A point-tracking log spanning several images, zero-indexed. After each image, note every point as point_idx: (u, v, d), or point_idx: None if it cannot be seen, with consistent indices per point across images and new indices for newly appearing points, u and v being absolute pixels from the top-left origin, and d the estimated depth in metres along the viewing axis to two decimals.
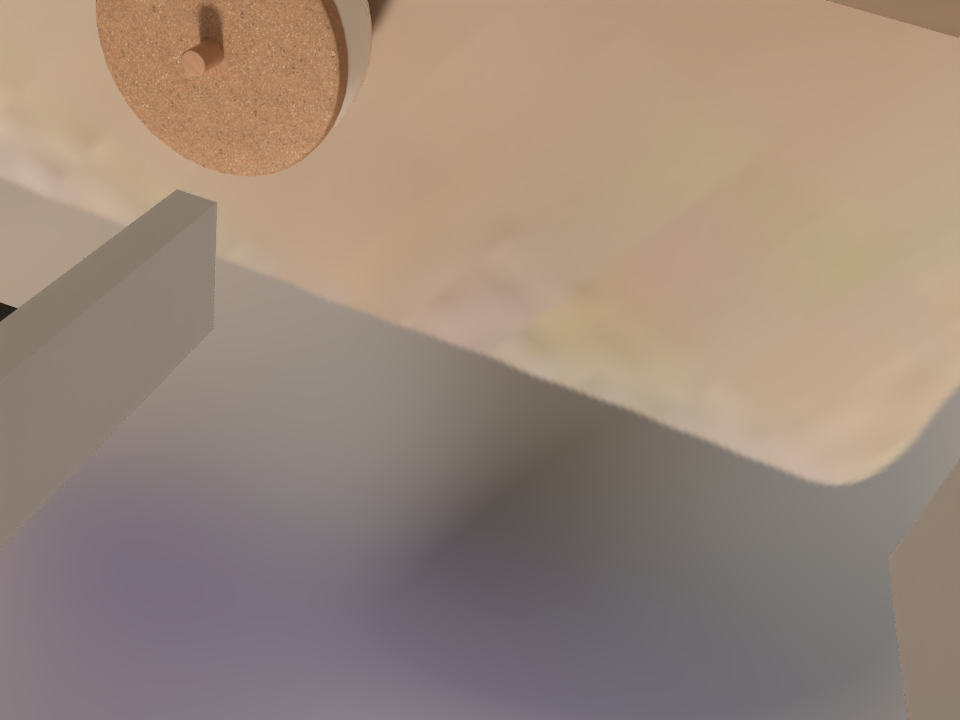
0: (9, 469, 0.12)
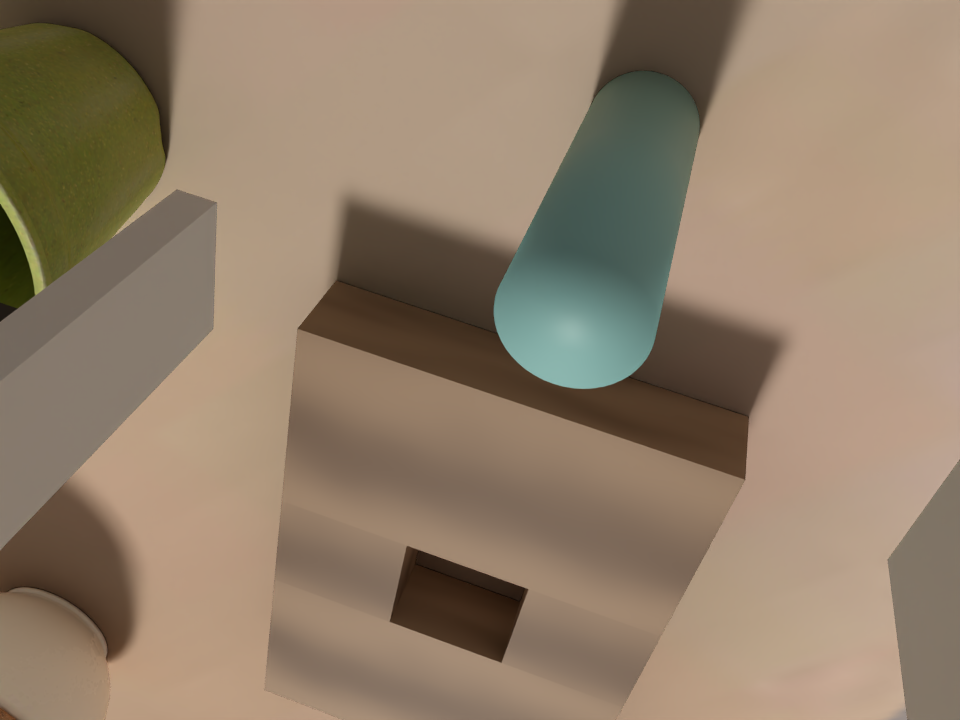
0: (9, 469, 0.12)
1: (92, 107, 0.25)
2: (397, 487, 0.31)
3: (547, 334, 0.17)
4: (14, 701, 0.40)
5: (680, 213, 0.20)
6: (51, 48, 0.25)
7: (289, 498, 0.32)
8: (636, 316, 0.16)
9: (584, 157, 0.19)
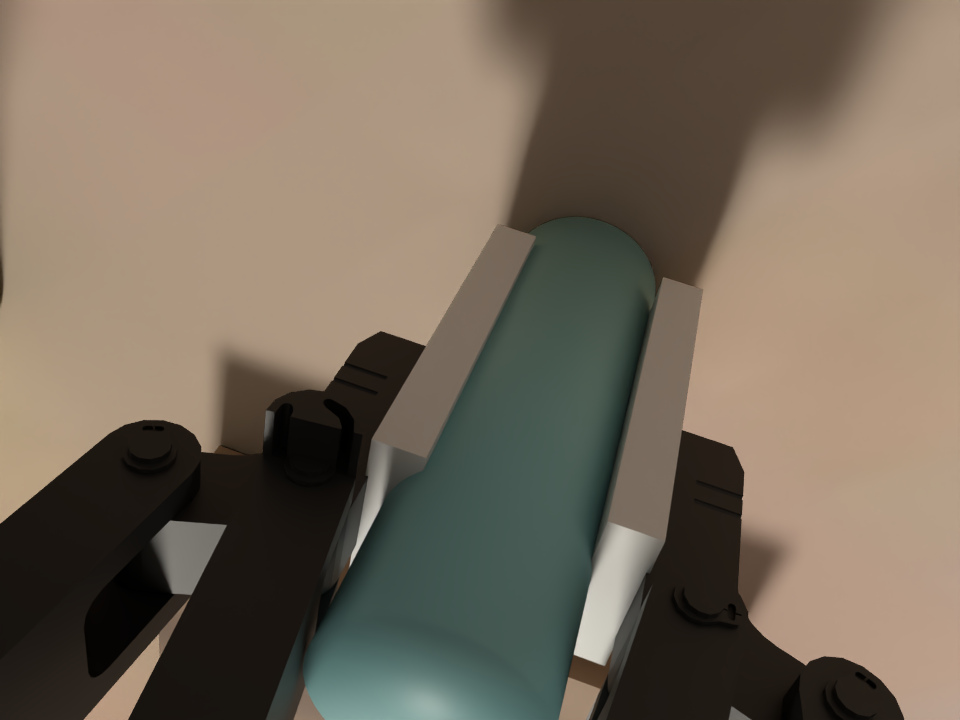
0: None
1: None
2: None
3: (389, 717, 0.11)
4: None
5: (614, 460, 0.14)
6: None
7: None
8: (520, 711, 0.10)
9: (468, 389, 0.13)
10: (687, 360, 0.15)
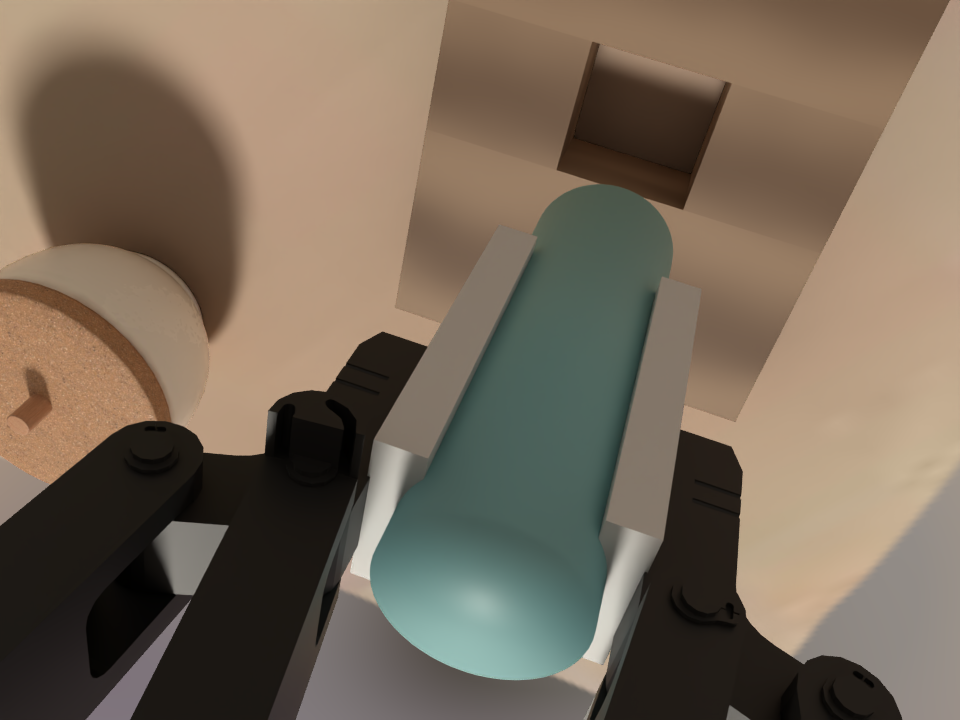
0: None
1: None
2: None
3: (446, 614, 0.12)
4: (120, 320, 0.37)
5: None
6: None
7: None
8: (566, 601, 0.11)
9: (508, 331, 0.15)
10: (686, 359, 0.15)
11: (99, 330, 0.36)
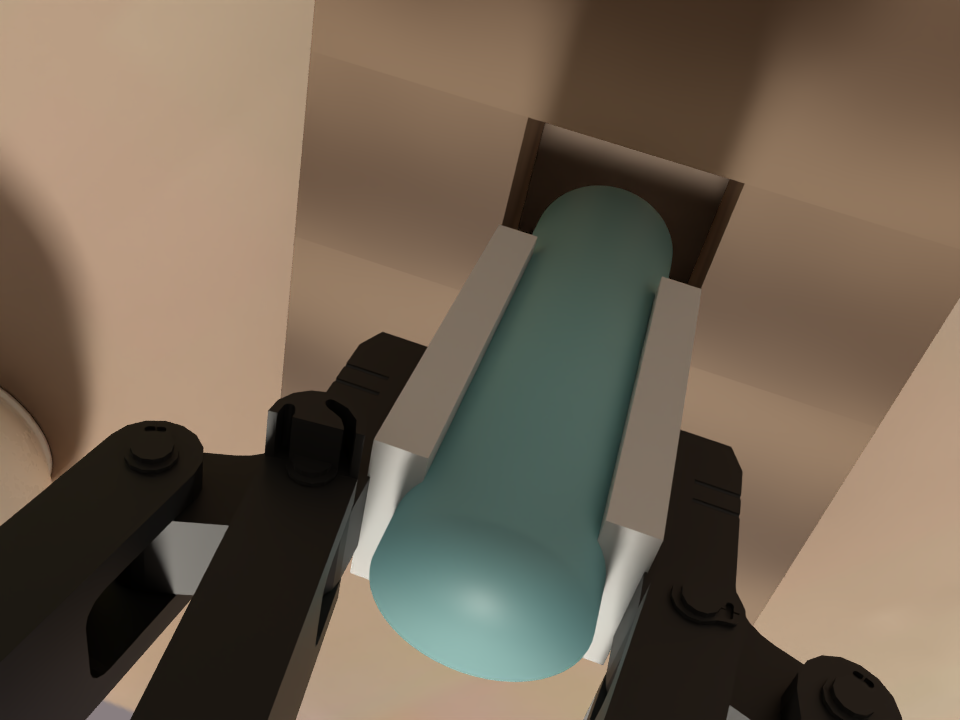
0: None
1: None
2: None
3: (446, 616, 0.12)
4: None
5: None
6: None
7: (324, 42, 0.19)
8: (565, 604, 0.11)
9: (507, 333, 0.15)
10: (686, 360, 0.15)
11: None
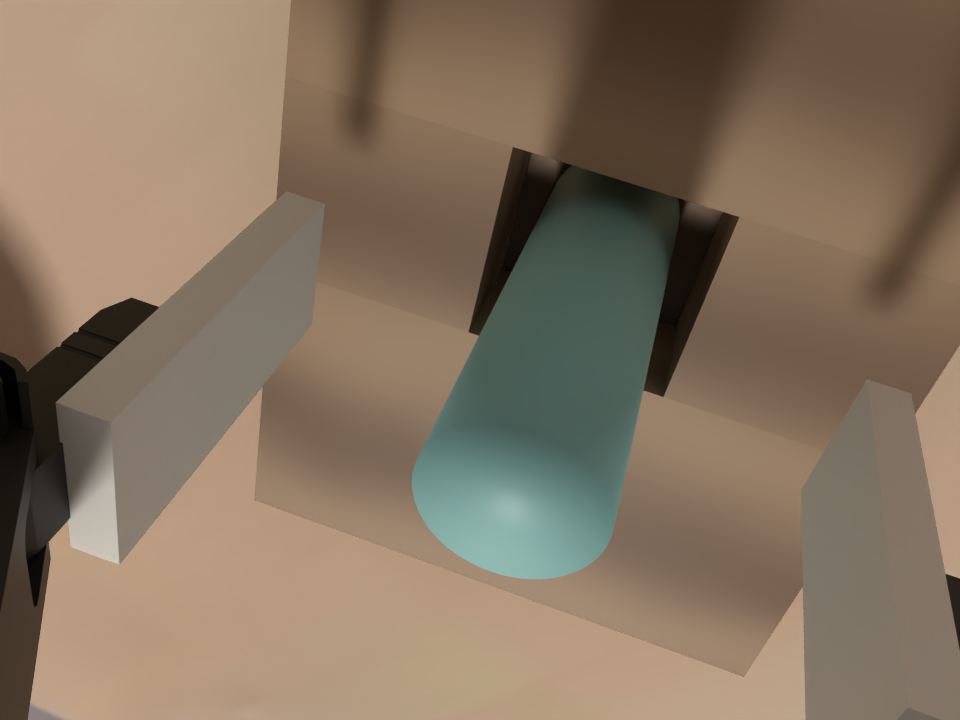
0: (157, 456, 0.13)
1: None
2: None
3: (480, 517, 0.13)
4: None
5: (652, 338, 0.16)
6: None
7: (299, 67, 0.18)
8: (589, 500, 0.13)
9: (532, 276, 0.16)
10: (923, 486, 0.13)
11: None
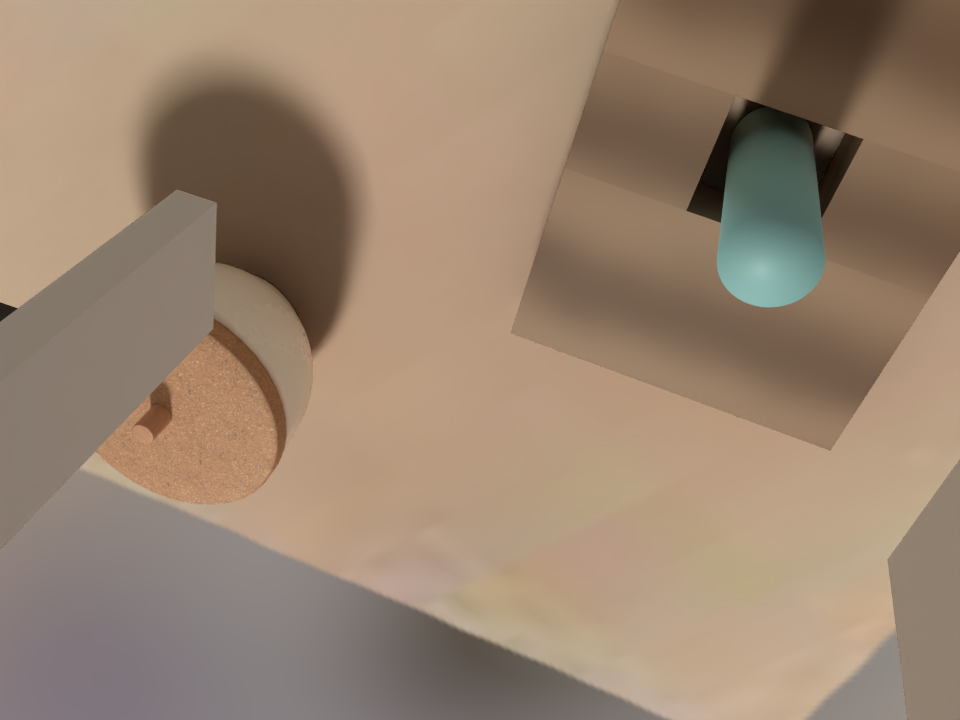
0: (9, 469, 0.12)
1: None
2: (746, 11, 0.30)
3: (751, 270, 0.27)
4: (248, 336, 0.38)
5: None
6: None
7: (613, 45, 0.31)
8: (812, 258, 0.26)
9: (757, 162, 0.29)
10: None
11: (231, 345, 0.37)
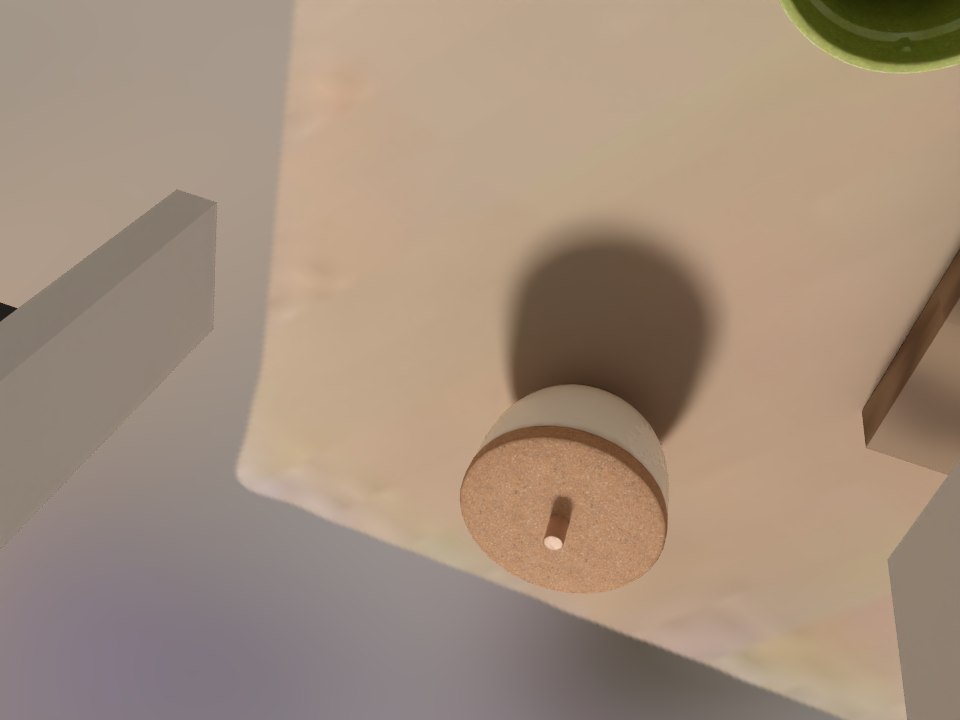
0: (9, 469, 0.12)
1: None
2: None
3: None
4: (642, 458, 0.45)
5: None
6: None
7: None
8: None
9: None
10: None
11: (637, 468, 0.44)
